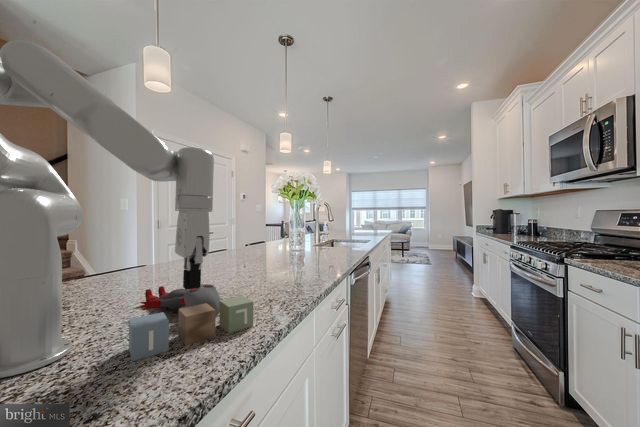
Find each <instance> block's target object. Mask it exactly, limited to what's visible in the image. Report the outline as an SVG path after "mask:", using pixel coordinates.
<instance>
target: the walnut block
mask: <svg viewBox="0 0 640 427" xmlns="http://www.w3.org/2000/svg"><path fill="white" fill-rule="evenodd" d="M178 337H179V338H180V340H181V341H182V343H183V344H184V346H189V345H192V344H196V343H199V342H203V341H206V340H209V339H213V338H216V318H215V309H214V308H212V307H211V306H210V305H208V304H207V303H205V304H201V305H196V306H191V307H186V306H185V307H182V308H179V309H178Z"/></svg>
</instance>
